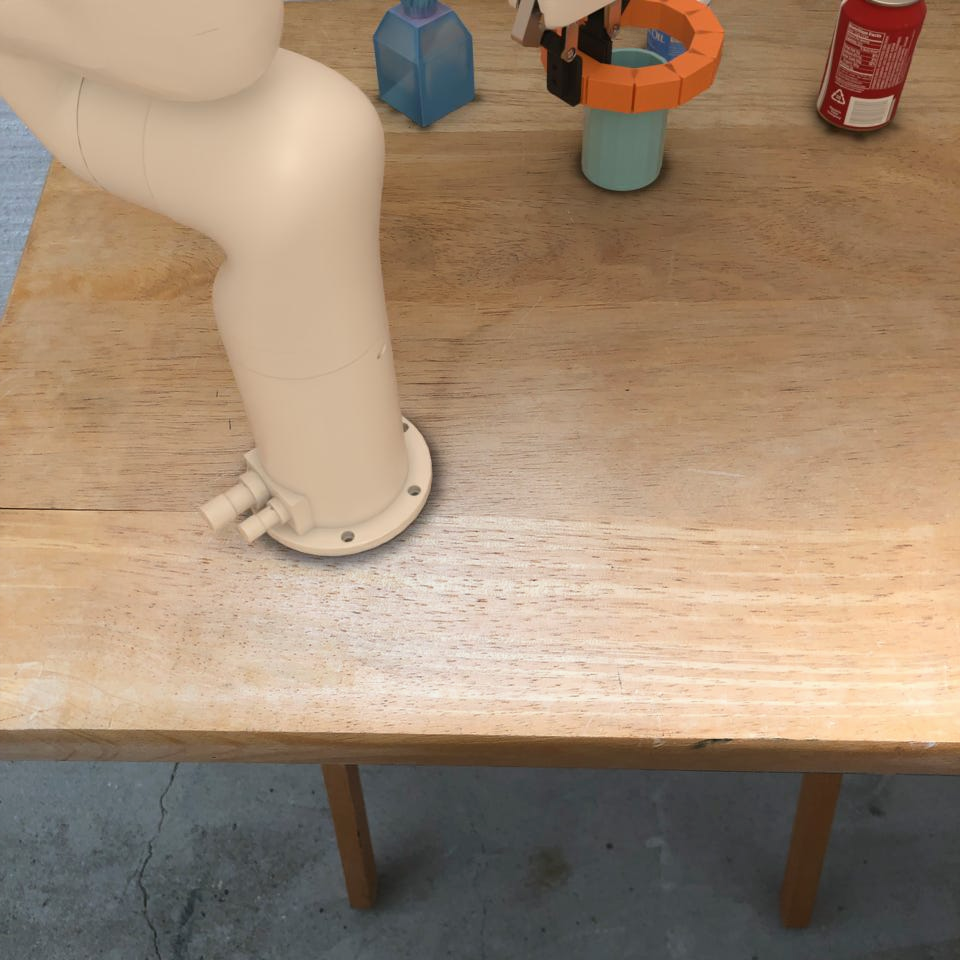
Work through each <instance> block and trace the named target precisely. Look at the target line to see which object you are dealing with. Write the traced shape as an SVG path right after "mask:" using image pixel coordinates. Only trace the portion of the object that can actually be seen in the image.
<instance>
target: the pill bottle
mask: <svg viewBox="0 0 960 960" xmlns="http://www.w3.org/2000/svg"><path fill="white" fill-rule="evenodd" d="M697 1H699V2H701V3H703V4H705V5H707V6H708V8H711V4H712V0H697ZM645 50H648V51H652V52H654V53H656V54H658V55H660V56H661V57H663V58H665V59H666V61H667V62H670V61H671V60H673V59H675V58H676V57H678V56H680V55H681V54H683V53H685V52H686V49H685V47H684V45H683V44H682V42H680V41H678V40H677V39H675V38H673V37H671V36H669V35H667V34H665V33H664V32H662V31H660V30H655V29H648V28H647V31H646V42H645Z"/></svg>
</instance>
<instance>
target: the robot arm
mask: <svg viewBox="0 0 960 960" xmlns="http://www.w3.org/2000/svg"><path fill="white" fill-rule="evenodd" d="M284 1H285V0H0V98H1V99H2V100H3V101H4V102H5V104H6V105H7V106H8V107H9V108H10V109H11V111H12V112H13V113H14V115H16V116H17V117H18V119H19V120H20V121H21V123H23V125H24V126H26V128H27V129H28V130H29V131H30V133H31V134H32V135H33V136H34V137H35V138H36V139H37V141H38V142H39V143H40V144H41V145H42V146H43V148H45V149H46V150H47V151H48V152H49V153H50V154H51V155H52V156H53V157H54V158H55V159H56V160H57V161H58V162H59V163H60V164H61V165H62V166H63V167H65V168H66V169H67V170H68V171H69V172H71V173H72V174H73V175H74V176H76V177H78V178H79V179H81V180H82V181H83V182H85V183H87V184H89V185H91V186H92V187H95V188H96V189H97V190H101V191H102V192H105V193H107V194H109V195H112V196H114V197H117V198H119V199H122V200H125V201H127V202H129V203H131V204H133V205H137V206H140V207H142V208H145V209H146V210H149V211H151V212H154V213H156V214H159V215H161V216H164V217H166V218H169V219H170V220H171V221H173V222H175V223H177V224H180V225H182V226H184V227H187V228H190V229H192V230H194V231H196V232H198V233H200V234H202V235H204V236H206V238H207V237H208V238H209V239H211V240H212V241H214V242H215V243H216V244H217V245H219V246H220V247H221V249H222V250H223V251H224V253H225V255H226V258H225V259H224V261H223V262H222V264H221V265H220V267H219V269H218V270H217V272H216V274H215V276H214V280H213V283H212V290H211V303H212V305H211V306H212V312H213V316H214V320H215V323H216V327H217V330H218V334H219V336H220V340H221V343H222V345H223V347H224V350H225V353H226V357H227V359H228V363H229V365H230V368H231V373H232V375H233V378H234V381H235V385H236V387H237V390H238V395H239V398H240V400H241V404H242V407H243V409H244V413H245V416H246V420H247V422H248V425H249V429H250V432H251V435H252V438H253V442H254V445H255V447H253V448H251V449H250V450H249V451H247V452H245V453H244V454H243V459H244V461H245V464H246V471H245V472H243V473H242V474H240V475H238V476H237V477H236V482H237V483H236V484H234V485H233V486H231V487H230V488H229V489H226V490H225V491H224V492H219V493H218V494H216V495H214V496H213V497H212V498H210V499H208V500H207V501H205V502H204V503H202V504H201V505H199V506H197V511H198V513H199V516H200V518H202V521H204V523H205V525H206V526H207V527H208V528H209V529H210V531H212V532H213V533H216V532H218V531H219V530H221V529H222V528H224V527H226V526H227V525H228V524H230V523H231V522H232V521H234V520H236V519H237V518H238V516H240V515H241V514H243V513H244V512H246V511H247V510H248V509H250V510H251V512H252V515H250V516H249V517H247V518H246V519H244V520H243V521H241V522H240V523H238V524H237V525H236V526H237V529H238V530H239V531H238V532H239V533H240V534H241V536H242V537H243V539H244V540H245V541H246V542H247V543H248V544H250V543H252V542H253V541H255V540H256V539H258V538H259V537H261V536H262V535H264V534H265V533H267V535H268V536H270V537H271V538H272V539H274V540H275V541H276V542H278V543H280V544H281V545H283V546H285V547H286V548H289V549H292V550H294V551H297V552H300V553H304V554H309V555H314V556H322V557H323V556H324V557H341V556H346V555H355V554H359V553H362V552H365V551H369V550H372V549H374V548H377V547H378V546H381V545H383V544H385V543H387V542H389V541H391V540H393V538H395V537H397V536H398V535H399V534H401V533H402V532H403V531H405V530H406V529H407V528H408V527H409V526H410V525H411V523H413V522H414V521H415V520H416V519H417V517H418V516H419V514H420V513H421V511H422V510H423V508H424V507H425V505H426V503H427V500H428V497H429V495H430V493H431V489H432V483H433V466H432V459H431V458H432V457H431V453H430V448H429V446H428V444H427V442H426V440H425V438H424V436H423V434H422V433H421V432H420V431H419V430H418V428H417V427H416V426H415V424H413V423H412V422H411V421H410V420H408V419H407V417H405V416H404V415H402V409H401V403H400V396H399V395H400V394H399V388H398V382H397V374H396V366H395V360H394V353H393V345H392V338H391V331H390V324H389V318H388V317H389V316H388V310H387V302H386V295H385V294H386V293H385V287H384V286H385V285H384V279H383V271H382V270H383V269H382V261H381V250H380V249H381V246H380V222H381V207H382V195H383V187H384V178H385V177H384V176H385V166H386V163H385V162H386V140H385V138H386V137H385V133H384V132H385V131H384V127H383V124H382V121H381V118H380V116H379V113H378V111H377V110H376V108H375V106H374V104H373V102H371V100H370V98H369V97H368V96H367V95H366V94H365V93H364V92H363V91H362V90H361V89H360V88H359V87H358V86H357V85H356V84H355V83H354V82H353V81H351V80H350V79H348V77H345V76H344V75H343V74H341V73H340V72H338V71H336V70H335V69H333V68H331V67H329V66H328V65H325V64H323V63H321V62H320V61H317V60H316V59H314V58H312V57H311V58H310V57H308V56H305V55H304V54H301V53H298V52H295V51H292V50H289V49H286V48H283V47H280V46H281V41H282V37H283V31H284V24H285V3H284ZM629 2H630V0H507V3H508V5H509V6H510V8H512V9H514V10H517V11H516V15H515V18H514V21H513V25H512V29H511V32H510V38H511V40H513V41H514V42H516V43H517V44H519V45H520V46H522V47H525V48H540V47H541V46H542V47H543V48H545V49H546V50H547V74H546V90H547V92H549V93H550V94H551V95H553V96H555V98H557V99H560V100H561V101H562V102H564V103H566V104H567V105H569V106H570V107H573V108H574V107H576V106H578V105H580V100H581V81H582V68H583V60H582V58H581V56H579V55H577V49H578V50H579V51H581V52H583V53H584V54H586V55H588V56H589V57H591V58H593V59H595V60H596V61H598V62H600V63H603V64H609V65H611V58H612V49H613V44H614V43H613V40H612V39H615V38H616V37H617V36H618V35H619V33H620V30H621V27H620V24H621V16H622V14H623V13H624V11H625V9H626V7H627V6H628V4H629ZM581 18H583V21H584V23H585V25H584V24H581V25H579V19H581ZM559 28H562V31H561V36H560V35H558V34H557V29H559Z"/></svg>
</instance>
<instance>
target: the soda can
mask: <svg viewBox="0 0 960 960" xmlns="http://www.w3.org/2000/svg"><path fill="white" fill-rule="evenodd" d="M927 11H928V7H927V3H926V1H925V0H840V4H839V9H838V12H837V15H836V16H837V17H836V20H835V21H836V22H835V25H834V28H833V33H832V37H831V42H830V44H829V45H830V46H829V48H828V49H829V50H828V53H827V58H826V62H825V65H824V70H823V74H822V78H821V82H820V87H819V91H818V95H817V99H816V110H817V112H818V114H819V115H820V116H821V118H822V119H824V121H826V122H827V123H829V124H830V125H833V126H834V127H836V128H839V129H842V130H844V131H849V132H871V131H876V130H880V129H881V128H883V127H886V126H887V125H889V124H890V123H891V122H892V121H893V120H894V119H895V116H896V114H897V113H896V112H897V110H898V106H899V103H900V100H901V97H902V93H903V90H904V88H905V84H906V80H907V77H908V75H909V71H910V68H911V64H912V61H913V58H914V55H915V51H916V48H917V45H918V42H919V39H920V35H921V33H922V30H923V26H924V23H925V20H926V16H927V13H928V12H927Z"/></svg>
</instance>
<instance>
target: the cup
mask: <svg viewBox="0 0 960 960" xmlns="http://www.w3.org/2000/svg"><path fill="white" fill-rule="evenodd" d="M666 63H668V62H667V61H666V59H665V58H663V57H661V56H660V55H658V54H656V53H654V52H652V51H648V50H646V49H645V48H644V49H643V48H640V47H617V48H612V58H611V65H615V66H622V67H628V68H641V67H647V66H654V65H660V64H666ZM669 111H670V108H669V109H662V110H656V111H650V112H643V113H637V114H634V113H633V111H631V114H627V113H621V112H615V111H609V110H603V109H598V108H592V107H587V104H585V105H583V121H582V141H581V143H582V144H581V161H580V163H581V171H582V173H583V175H584V176H585V178H586V179H587V180H589V181H590V182H591V183H592V184H594V185H596V186H597V187H600V188H601V189H605V190H610V191H615V192H616V191H618V192H628V191H635V190H639V189H642V188H644V187H647V186H648V185H650V184H652V183H654V182H655V180H657V178H658V177H659V175H660V173H661V170H662V167H663V159H664V151H665V145H666V144H665V143H666V134H667V128H668V127H667V126H668V119H669Z"/></svg>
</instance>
